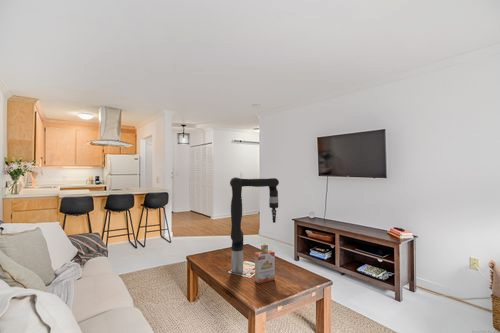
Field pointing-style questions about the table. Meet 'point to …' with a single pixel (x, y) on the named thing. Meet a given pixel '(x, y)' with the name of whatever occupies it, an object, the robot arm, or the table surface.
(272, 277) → the cracker box
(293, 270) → the table surface
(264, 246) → the metal block
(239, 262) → the robot arm
